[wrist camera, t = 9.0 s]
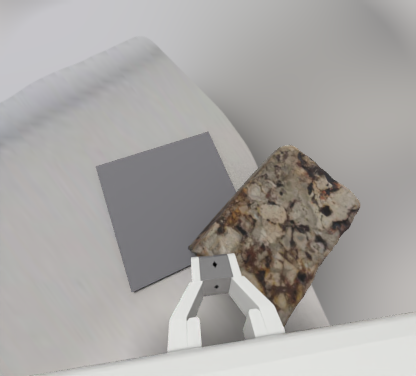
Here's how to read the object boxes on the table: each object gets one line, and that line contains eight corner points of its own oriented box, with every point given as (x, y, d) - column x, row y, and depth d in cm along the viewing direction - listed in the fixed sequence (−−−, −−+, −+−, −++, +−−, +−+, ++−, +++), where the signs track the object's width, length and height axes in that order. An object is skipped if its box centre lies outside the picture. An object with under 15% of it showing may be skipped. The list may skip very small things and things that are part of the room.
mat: (253, 234, 24) (255, 234, 24) (133, 290, 21) (131, 292, 20) (207, 133, 28) (208, 131, 27) (98, 168, 24) (95, 166, 24)
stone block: (252, 311, 22) (321, 206, 28) (286, 349, 16) (367, 202, 21) (184, 244, 22) (266, 153, 28) (188, 254, 16) (295, 132, 21)
